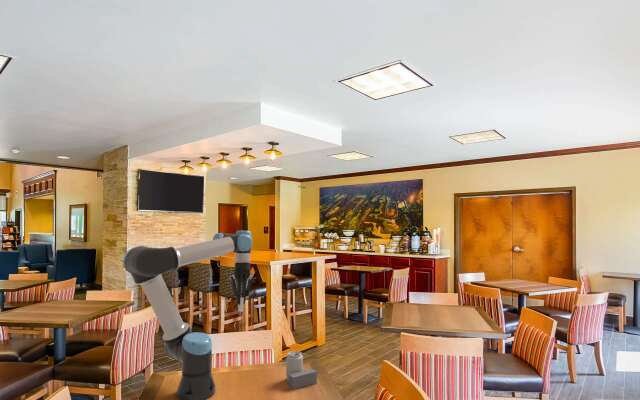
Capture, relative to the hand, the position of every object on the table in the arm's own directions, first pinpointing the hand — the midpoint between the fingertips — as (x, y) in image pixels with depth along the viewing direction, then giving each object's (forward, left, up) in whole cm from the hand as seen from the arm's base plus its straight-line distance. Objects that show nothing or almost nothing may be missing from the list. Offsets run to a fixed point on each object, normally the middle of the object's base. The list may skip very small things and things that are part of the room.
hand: (240, 311), depth 192 cm
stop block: (+15, -33, -27) cm, 45 cm away
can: (+15, -26, -28) cm, 41 cm away
